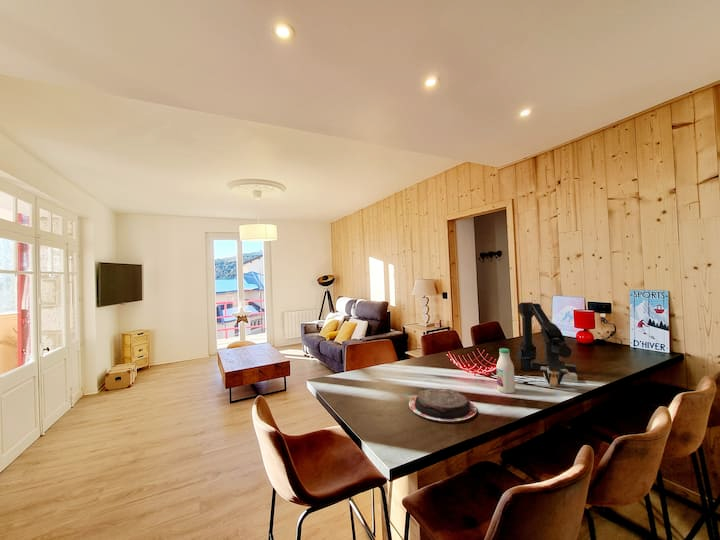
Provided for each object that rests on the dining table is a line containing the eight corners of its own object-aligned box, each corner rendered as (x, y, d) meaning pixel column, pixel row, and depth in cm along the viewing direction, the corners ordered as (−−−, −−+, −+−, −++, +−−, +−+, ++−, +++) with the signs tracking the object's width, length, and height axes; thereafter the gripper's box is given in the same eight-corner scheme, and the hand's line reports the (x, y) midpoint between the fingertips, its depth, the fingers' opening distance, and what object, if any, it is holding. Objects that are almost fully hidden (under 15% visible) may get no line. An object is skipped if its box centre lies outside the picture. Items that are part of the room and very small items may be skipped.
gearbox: (545, 379, 153) (544, 370, 153) (543, 373, 162) (542, 365, 162) (577, 383, 146) (577, 373, 147) (573, 377, 155) (573, 368, 155)
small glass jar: (549, 386, 143) (549, 374, 143) (548, 384, 146) (548, 372, 147) (559, 388, 141) (558, 375, 141) (558, 385, 144) (557, 373, 145)
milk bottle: (514, 388, 141) (512, 347, 142) (515, 394, 134) (513, 351, 135) (497, 386, 145) (495, 346, 145) (497, 392, 138) (495, 350, 138)
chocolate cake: (439, 390, 143) (438, 377, 143) (491, 411, 119) (490, 395, 119) (395, 405, 127) (395, 390, 128) (445, 432, 104) (444, 414, 104)
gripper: (531, 354, 141) (533, 386, 141) (578, 358, 133) (580, 392, 132) (530, 349, 151) (531, 379, 151) (574, 352, 143) (575, 384, 142)
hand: (553, 383), depth 144 cm, fingers closed on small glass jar, 4 cm apart
